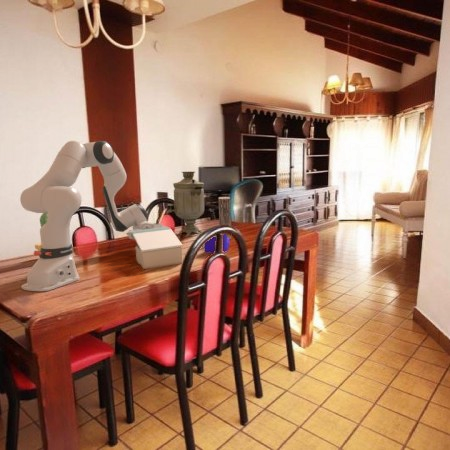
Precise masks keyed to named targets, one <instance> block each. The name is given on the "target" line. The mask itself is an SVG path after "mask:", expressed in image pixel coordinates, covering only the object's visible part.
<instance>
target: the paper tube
mask: <svg viewBox="0 0 450 450" xmlns="http://www.w3.org/2000/svg"><path fill="white" fill-rule="evenodd" d="M231 214H232V213H231V197H230V196H219V197H218V217H219V219H218V220H219V226H220V225H229V226H231V227H232V221H231V220H232V219H231ZM227 238H229V240H231V239H232V235H231V236H230V235H227Z"/></svg>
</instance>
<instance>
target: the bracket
mask: <svg viewBox="0 0 450 450" xmlns="http://www.w3.org/2000/svg"><path fill="white" fill-rule="evenodd" d="M215 241H216V237H213V238H212V239H210V240H209V241H207V242H206V243H205V244H204V245H203V246H204V248H203V249H204V253H207V252H211V253H210V254H214V253H213V252H214V251H215ZM228 247H229V248H230V239H229V238H227V234H224V235H223V251H224V252H225V251H227V250H228V251H229V248H228ZM228 251H227V252H228Z"/></svg>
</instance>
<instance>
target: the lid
mask: <svg viewBox="0 0 450 450" xmlns="http://www.w3.org/2000/svg"><path fill="white" fill-rule="evenodd" d="M132 235H133V236H134V238H135V239H134V240H135V242H136V244H137V246H139V248H140V250H141V252H148V251H155V250H162V249H169V248H176V247H182V248H183V243H182V242H181V241H180V238H178V236H177V235H176V234H175V232H174V231H173V230H172V228H171V227H168V228H161V229H152V230H143V231H135V232H132Z"/></svg>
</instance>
